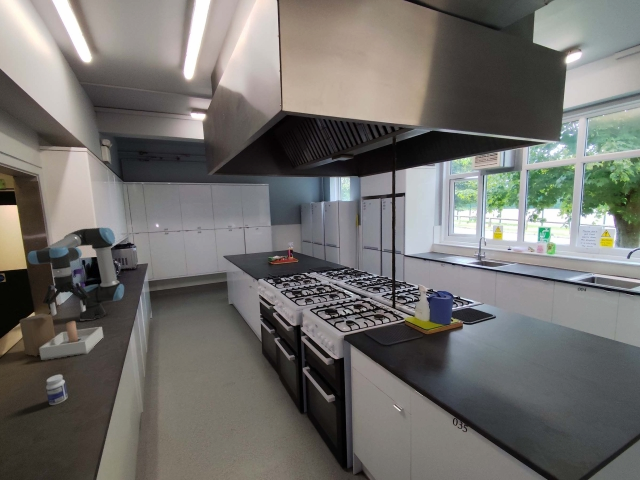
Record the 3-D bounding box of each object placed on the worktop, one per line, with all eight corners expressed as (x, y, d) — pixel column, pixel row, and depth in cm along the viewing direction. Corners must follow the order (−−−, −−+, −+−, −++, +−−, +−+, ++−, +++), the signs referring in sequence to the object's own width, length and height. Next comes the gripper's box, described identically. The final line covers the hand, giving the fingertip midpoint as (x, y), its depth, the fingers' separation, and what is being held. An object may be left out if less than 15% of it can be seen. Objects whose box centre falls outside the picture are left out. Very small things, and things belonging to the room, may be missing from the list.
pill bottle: (56, 396, 119) (52, 374, 118) (71, 395, 119) (67, 372, 118) (44, 406, 113) (40, 382, 112) (60, 404, 114) (56, 381, 112)
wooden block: (58, 348, 162) (52, 314, 160) (36, 357, 153) (29, 321, 150) (47, 346, 166) (41, 312, 163) (24, 355, 156) (18, 319, 154)
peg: (72, 345, 162) (68, 321, 160) (80, 344, 163) (76, 320, 161) (68, 348, 158) (64, 324, 157) (76, 347, 159) (72, 323, 158)
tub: (63, 343, 168) (61, 332, 167) (103, 337, 173) (101, 326, 172) (41, 361, 149) (39, 348, 148) (86, 353, 154) (85, 341, 153)
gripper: (29, 279, 149) (37, 318, 152) (86, 274, 155) (92, 312, 158) (39, 276, 156) (46, 313, 159) (93, 271, 163) (98, 307, 166)
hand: (69, 312), depth 159 cm, fingers open, 13 cm apart
